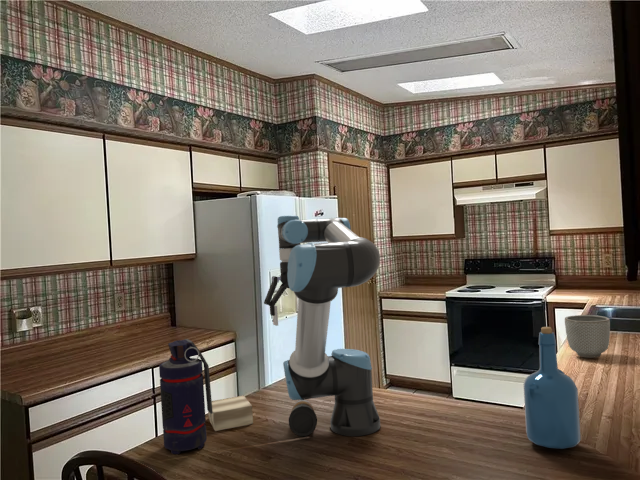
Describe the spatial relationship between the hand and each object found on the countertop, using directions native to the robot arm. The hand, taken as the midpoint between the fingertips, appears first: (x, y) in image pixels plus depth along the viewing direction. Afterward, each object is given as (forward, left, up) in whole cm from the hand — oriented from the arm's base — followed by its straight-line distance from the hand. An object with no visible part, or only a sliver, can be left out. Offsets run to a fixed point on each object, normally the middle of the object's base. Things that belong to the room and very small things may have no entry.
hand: (294, 322), depth 176 cm
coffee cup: (-14, +2, -25) cm, 29 cm away
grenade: (-20, +37, -29) cm, 51 cm away
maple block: (-5, +24, -29) cm, 38 cm away
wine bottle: (-56, -56, -29) cm, 85 cm away
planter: (+11, -130, -29) cm, 134 cm away
